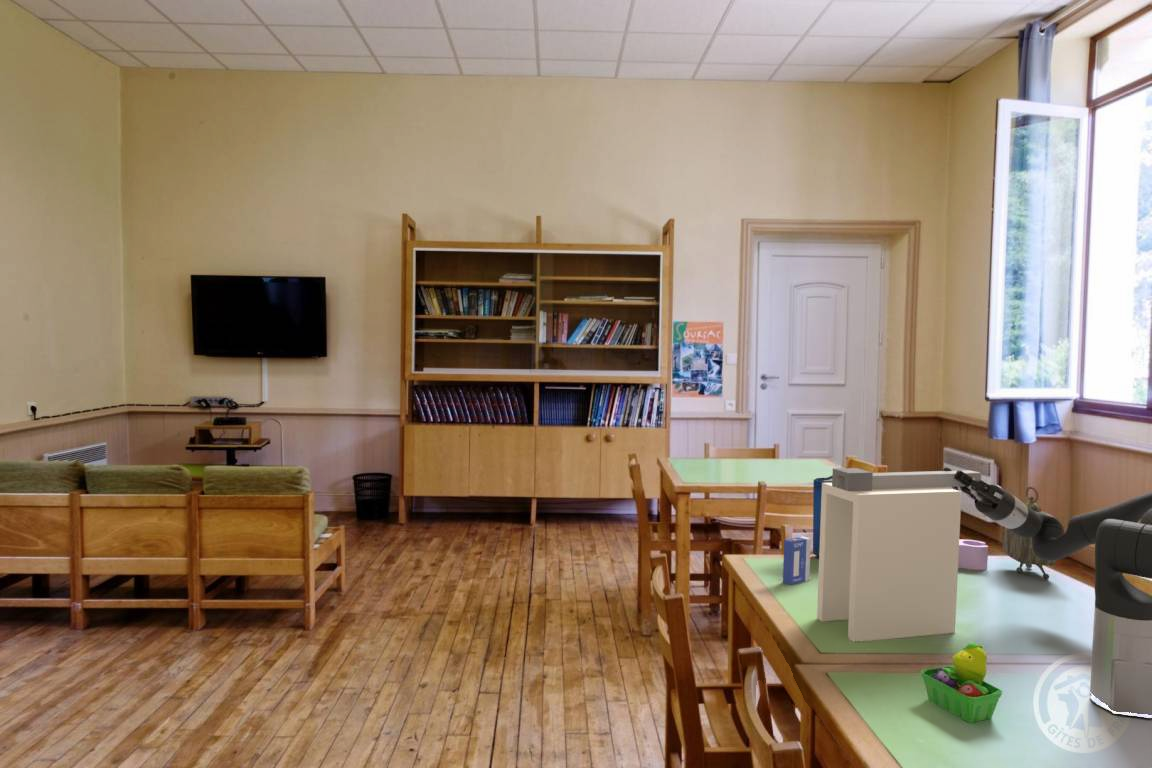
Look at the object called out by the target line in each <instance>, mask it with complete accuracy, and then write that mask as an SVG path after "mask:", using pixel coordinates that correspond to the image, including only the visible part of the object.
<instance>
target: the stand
mask: <svg viewBox="0 0 1152 768" xmlns="http://www.w3.org/2000/svg"><path fill="white" fill-rule="evenodd" d="M962 494H963V492H962V491H958V490H954V489H953V488H950V487H925V488H895V489H872V490H871V491H846V490H843V489H839V488H836V487H833V486H832V483H822V496H821V523H820V550H819V558H818V577H817V578H818V579H817V580H818V581H817V582H818V583H817V609H816V619H817V620H819V621H820V622H834V620H835V621H846V620H847V621H848V628H847V629H848V630H847V639H848V638H849V639H848V640H849V641H851V640H852V641H851V642H852V643H855V641H856V643H857V641H859V642H867V641H878V640H888V639H889V640H890V639H899V638H910V637H911V638H912V637H920V636H921V637H924V636H933V635H944V634H955V633H956V617H957V598H958V597H957V596H958V579H959V577H958V574H959V568H958V557H959V539H960V534H961V516H962V515H961V512H962V509H961V508H962Z"/></svg>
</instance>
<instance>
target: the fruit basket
mask: <svg viewBox="0 0 1152 768" xmlns="http://www.w3.org/2000/svg"><path fill="white" fill-rule="evenodd" d="M987 660H988V656H987V653H986V651H984V647H983V646H982V645H981V644H977V643H975V642H969V643H968V644H966V646H964V647H963V648H962V650H960V651H958V652H957V653H955V654H954V655H953V656H952V660H951V661H952V664H953V666H952V665H951V666H948V665H946V666H939V667H931V668H927V669H926V668H925V669H923V670H920V673H921V676H922V678H923V682H924V686H925V690H926V693H927V698H928V700H929V701H930V702H931V703H934V704H935V705H938V706H939V707H941V708H943V709H945V710H946V711H948V712H950V713H951V714H953V715H955V716H956V717H959V718H961V719H962V720H964V721H966V722H967V723H969V724H971V723H974V722H981V721H985V720H987V719H988V720H990V719H992V718H993V715H994V713H995V710H996V706H997V704H998V702H999V699H1000V698H1001V697H1002V695H1003V690H1001V689H1000V688H998V687H996V686H994V685H992V684H990V683H988V682H986V681H984V679H985V677H986V675H987V670H988V669H987Z"/></svg>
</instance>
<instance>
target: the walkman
mask: <svg viewBox="0 0 1152 768" xmlns="http://www.w3.org/2000/svg"><path fill="white" fill-rule="evenodd" d="M811 540H812V539H811V537H807V536H803V535H802V536H797V537H793V538H792V537H791V538H787V539H786V538H785V539H784V540H783V567H782V583H785V584H787V585H789V586H793V585H796V584H800V583H805V582H808V581H810V566H811V565H810V564H811V543H812V541H811Z"/></svg>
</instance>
